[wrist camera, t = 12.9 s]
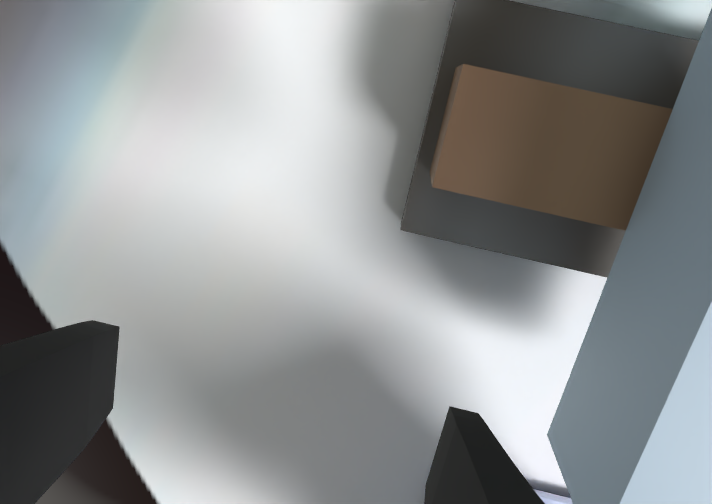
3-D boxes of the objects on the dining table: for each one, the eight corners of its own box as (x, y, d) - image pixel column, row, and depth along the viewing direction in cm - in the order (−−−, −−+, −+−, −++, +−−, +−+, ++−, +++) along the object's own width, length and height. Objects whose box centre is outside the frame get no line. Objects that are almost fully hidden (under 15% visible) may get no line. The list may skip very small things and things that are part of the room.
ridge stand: (940, 98, 18) (1092, 102, 14) (825, 319, 20) (926, 376, 16) (456, -4, 18) (467, -29, 14) (401, 222, 21) (398, 254, 17)
